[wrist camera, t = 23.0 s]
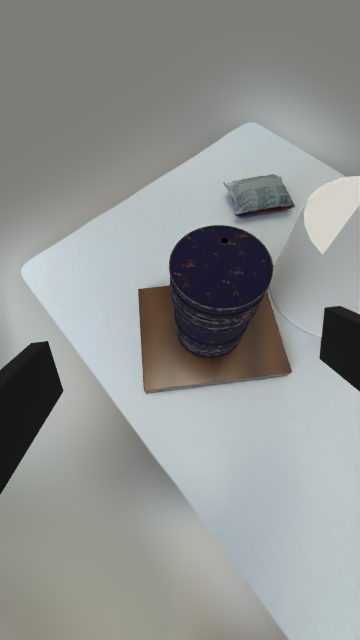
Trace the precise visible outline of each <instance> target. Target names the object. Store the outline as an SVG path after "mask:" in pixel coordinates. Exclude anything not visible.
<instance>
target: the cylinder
mask: <svg viewBox="0 0 360 640" xmlns="http://www.w3.org/2000/svg"><path fill="white" fill-rule="evenodd" d="M270 292H271V295H272V298H273V301H274V303H275V305H276V306H277V308H278V309H279V311H280V313H281V314H282V315H283V316H284V317H285V318H286V319H287V320H289V321H290V322H291V323H292V324H293V325H295V326H297V327H298V328H300V329H301V330H303V331H305V332H307V333H310V334H313V335H316V336H318V337H322V328H323V318H324V308H326V307H334V306H342V307H344V308H347V309H349V310H351V311H354V312H356V313H358V314H360V176H352V177H343V178H339V179H336V180H333V181H329V182H327V183H326V184H324V185H322V186H321V187H319V188H318V189H316V190H315V191H314V193H313V194H312V195H311V196H310V197H309V199H308V200H307V202H306V204H305V206H304V208H303V210H302V212H301V214H300V216H299V218H298V220H297V222H296V224H295V226H294V228H293V230H292V232H291V234H290V236H289V238H288V240H287V242H286V244H285V246H284V248H283V250H282V252H281V254H280V256H279V258H278V260H277V262H276V264H275V266H274V268H273V276H272V280H271V282H270Z"/></svg>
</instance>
